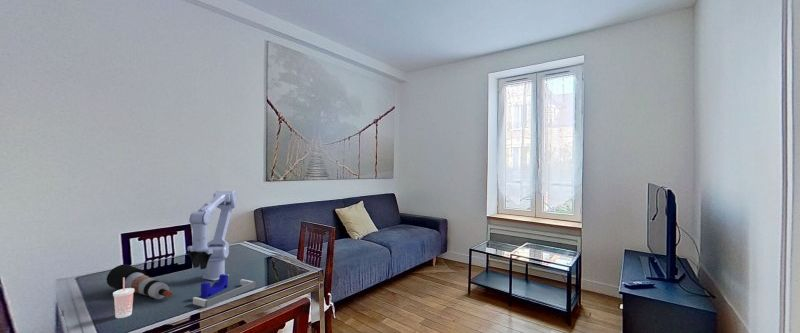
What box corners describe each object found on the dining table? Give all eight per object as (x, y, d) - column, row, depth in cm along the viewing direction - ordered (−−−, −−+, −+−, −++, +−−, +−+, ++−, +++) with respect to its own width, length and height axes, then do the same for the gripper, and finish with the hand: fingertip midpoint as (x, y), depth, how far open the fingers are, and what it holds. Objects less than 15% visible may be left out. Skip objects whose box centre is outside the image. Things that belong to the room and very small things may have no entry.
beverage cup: (138, 312, 119) (138, 275, 119) (120, 320, 113) (120, 281, 113) (126, 310, 120) (126, 274, 120) (108, 318, 114) (108, 279, 114)
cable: (162, 313, 128) (151, 295, 123) (113, 292, 140) (101, 275, 136) (185, 293, 136) (176, 276, 132) (137, 275, 149) (126, 259, 144)
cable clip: (219, 286, 145) (219, 273, 145) (227, 287, 144) (227, 274, 144) (197, 297, 133) (197, 283, 133) (207, 298, 132) (207, 284, 132)
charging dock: (192, 304, 126) (192, 297, 126) (242, 284, 147) (242, 279, 147) (206, 307, 123) (206, 301, 123) (255, 287, 144) (255, 281, 144)
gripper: (180, 238, 141) (180, 268, 141) (201, 241, 135) (201, 272, 135) (196, 235, 148) (196, 264, 148) (217, 238, 142) (217, 268, 142)
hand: (199, 268), depth 142 cm, fingers open, 4 cm apart
